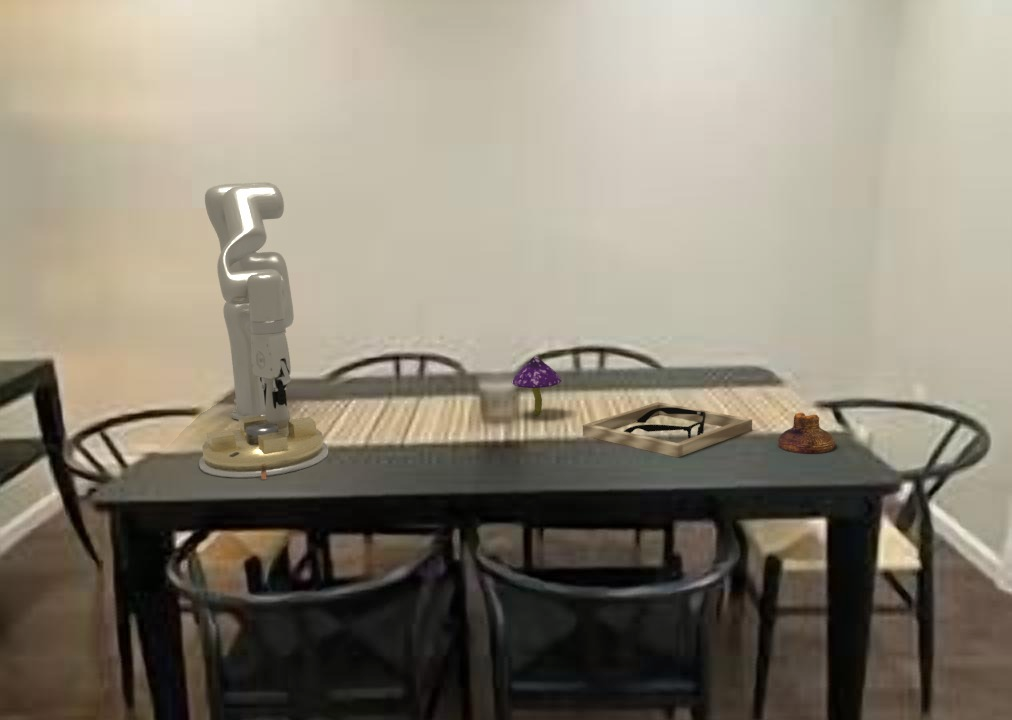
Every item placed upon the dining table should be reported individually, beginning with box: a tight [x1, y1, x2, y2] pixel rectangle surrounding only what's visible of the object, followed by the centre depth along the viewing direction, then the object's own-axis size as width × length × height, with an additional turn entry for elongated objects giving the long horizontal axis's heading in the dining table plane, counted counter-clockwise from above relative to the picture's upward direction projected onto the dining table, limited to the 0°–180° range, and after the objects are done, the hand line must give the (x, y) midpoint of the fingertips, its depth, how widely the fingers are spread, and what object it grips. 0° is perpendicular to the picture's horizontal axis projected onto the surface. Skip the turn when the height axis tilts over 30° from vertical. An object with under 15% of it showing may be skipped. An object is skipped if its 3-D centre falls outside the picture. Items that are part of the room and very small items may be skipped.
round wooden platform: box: [202, 415, 324, 471], centre depth 224 cm, size 26×26×6 cm
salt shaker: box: [263, 374, 291, 430], centre depth 231 cm, size 6×6×13 cm
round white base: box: [198, 442, 329, 481], centre depth 225 cm, size 28×28×1 cm
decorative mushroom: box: [512, 356, 563, 416], centre depth 249 cm, size 12×12×15 cm
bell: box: [777, 412, 836, 455], centre depth 215 cm, size 12×12×7 cm
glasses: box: [623, 407, 706, 439], centre depth 230 cm, size 17×18×5 cm
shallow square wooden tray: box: [582, 401, 753, 458], centre depth 230 cm, size 27×27×2 cm
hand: (275, 405), depth 232 cm, fingers closed on salt shaker, 3 cm apart
